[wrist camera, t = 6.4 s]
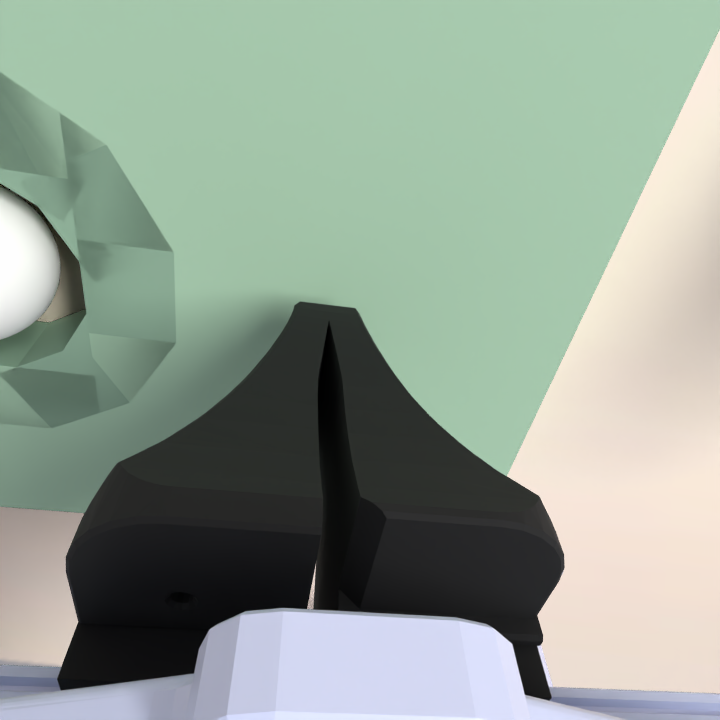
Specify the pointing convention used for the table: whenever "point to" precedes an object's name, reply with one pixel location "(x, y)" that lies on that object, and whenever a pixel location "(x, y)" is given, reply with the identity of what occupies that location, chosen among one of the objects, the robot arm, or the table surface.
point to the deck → (319, 200)
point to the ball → (24, 264)
